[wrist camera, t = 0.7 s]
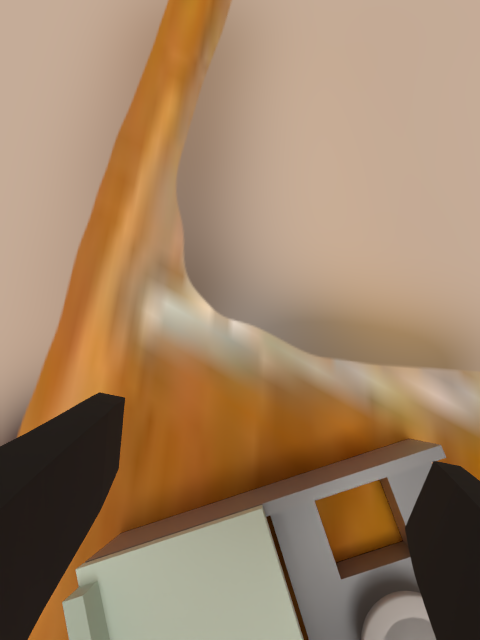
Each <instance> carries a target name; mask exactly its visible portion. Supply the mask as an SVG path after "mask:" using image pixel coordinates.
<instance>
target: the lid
mask: <svg viewBox="0 0 480 640" xmlns="http://www.w3.org/2000/svg"><path fill="white" fill-rule="evenodd" d="M76 575H77V580H78V585H79V588H78V589H76V590H75V591H74V592H73V593H72V594H71V595H70V596H69V597H68V598H67V599H65V600H64V601H63V602H62V604H63V609H64V615H65V620H66V625H67V631H68V636H69V640H304V638H303V635H302V632H301V629H300V625H299V622H298V619H297V616H296V612H295V609H294V606H293V603H292V600H291V596H290V593H289V590H288V587H287V583H286V580H285V577H284V574H283V570H282V567H281V564H280V561H279V557H278V554H277V551H276V548H275V544H274V541H273V538H272V535H271V531H270V528H269V525H268V522H267V518H266V515H265V512H264V509H263V505H260V506H257V507H254V508H251V509H248V510H245V511H242V512H239V513H236V514H232V515H229V516H226V517H223V518H220V519H217V520H214V521H211V522H208V523H205V524H202V525H199V526H196V527H193V528H190V529H187V530H184V531H181V532H178V533H175V534H172V535H169V536H165V537H162V538H159V539H156V540H153V541H150V542H147V543H144V544H141V545H138V546H135V547H132V548H129V549H126V550H123V551H120V552H117V553H114V554H111V555H108V556H105V557H101V558H98V559H95V560H92V561H89V562H86V563H83V564H82V565H81V566H79V567H78V568H77V569H76Z"/></svg>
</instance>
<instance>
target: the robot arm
mask: <svg viewBox="0 0 480 640" xmlns="http://www.w3.org/2000/svg"><path fill="white" fill-rule="evenodd" d="M124 404H125V398H124V397H119V396H114V395H109V394H104V393H98V394H96V395H94V396H92V397H90V398H88V399H86V400H85V401H83V402H81V403H79V404H78V405H76V406H74V407H72V408H71V409H69V410H67V411H66V412H64V413H62V414H60V415H59V416H57V417H55V418H53V419H51V420H50V421H48V422H46V423H44V424H42V425H40V426H39V427H37V428H35V429H33V430H31V431H30V432H28V433H26V434H24V435H22V436H20V437H18V438H16V439H14V440H13V441H11V442H8V443H6V444H4V445H2V446H0V640H28V638H29V636H30V634H31V632H32V630H33V628H34V626H35V624H36V622H37V620H38V619H39V617H40V615H41V613H42V611H43V609H44V608H45V606H46V604H47V602H48V601H49V599H50V597H51V595H52V594H53V592H54V590H55V588H56V587H57V585H58V583H59V582H60V580H61V578H62V576H63V575H64V573H65V571H66V569H67V568H68V566H69V564H70V563H71V561H72V559H73V557H74V556H75V554H76V552H77V550H78V549H79V547H80V545H81V544H82V542H83V540H84V538H85V537H86V535H87V533H88V531H89V530H90V528H91V526H92V524H93V523H94V521H95V519H96V517H97V515H98V514H99V512H100V510H101V508H102V506H103V503H104V501H105V499H106V497H107V494H108V492H109V490H110V488H111V485H112V483H113V480H114V478H115V476H116V473H117V471H118V468H119V458H120V447H121V436H122V425H123V414H124ZM405 532H406V537H407V542H408V547H409V553H410V557H411V562H412V566H413V570H414V575H415V578H416V581H417V584H418V587H419V590H420V593H421V596H422V599H423V602H424V605H425V608H426V611H427V614H428V617H429V620H430V623H431V626H432V629H433V632H434V635H435V638H436V640H480V481H479V480H478V479H476V478H475V477H474V476H473V475H471V474H470V473H469V472H467V471H466V470H465V469H463V468H462V467H461V466H457V465H452V464H447V463H442V462H437V461H433V464H432V466H431V468H430V471H429V473H428V475H427V478H426V480H425V482H424V484H423V487H422V489H421V491H420V494H419V496H418V498H417V501H416V503H415V505H414V508H413V510H412V512H411V515H410V517H409V519H408V522H407V524H406V526H405Z"/></svg>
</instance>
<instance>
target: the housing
mask: <svg viewBox="0 0 480 640" xmlns="http://www.w3.org/2000/svg"><path fill="white" fill-rule="evenodd" d="M444 458H446V456H445V454H444V451H443V449H442V447H441V445H438V444H433V443H428V442H423V441H418V440H413V439H406V440H403V441H400V442H397V443H394V444H391V445H388V446H385V447H382V448H379V449H376V450H373V451H370V452H367V453H364V454H361V455H358V456H355V457H352V458H349V459H346V460H343V461H339V462H336V463H333V464H330V465H327V466H324V467H321V468H318V469H315V470H312V471H309V472H306V473H303V474H300V475H297V476H294V477H291V478H288V479H285V480H282V481H279V482H276V483H273V484H269V485H266V486H263V487H260V488H257V489H254V490H251V491H248V492H245V493H242V494H239V495H236V496H233V497H230V498H227V499H224V500H221V501H218V502H215V503H212V504H209V505H206V506H203V507H199V508H196V509H193V510H190V511H187V512H184V513H181V514H178V515H175V516H172V517H169V518H166V519H163V520H160V521H157V522H154V523H151V524H148V525H145V526H142V527H139V528H136V529H133V530H130V531H126V532H123V533H120V534H119V535H118V536H117V537H116V538H114V539H113V540H112V541H111V542H109V543H108V544H107V545H106V546H104V547H103V548H102V549H101V550H99V551H98V552H97V553H96V554H94V555H93V556H92V557H91V558H89V559H88V560H87V561H86V562H89V561H92V560H95V559H98V558H101V557H105V556H108V555H111V554H114V553H117V552H120V551H123V550H126V549H129V548H132V547H135V546H138V545H141V544H144V543H147V542H150V541H153V540H156V539H159V538H162V537H165V536H169V535H172V534H175V533H178V532H181V531H184V530H187V529H190V528H193V527H196V526H199V525H202V524H205V523H208V522H211V521H214V520H217V519H220V518H223V517H226V516H229V515H232V514H236V513H239V512H242V511H245V510H248V509H251V508H254V507H257V506H260V505H263V509H264V512H265V515H266V517H267V516H271V519H272V522H273V526H274V529H275V532H276V535H277V539H278V542H279V545H280V548H281V551H282V555H283V558H284V561H285V564H286V567H287V571H288V574H289V577H290V580H291V584H292V587H293V590H294V593H295V596H296V600H297V603H298V606H299V609H300V613H301V616H302V619H303V622H304V625H305V629H306V632H307V635H308V638H309V640H436V638H435V635H434V632H433V629H432V626H431V623H430V620H429V617H428V614H427V611H426V608H425V605H424V602H423V599H422V596H421V593H420V590H419V587H418V584H417V581H416V578H415V575H414V570H413V566H412V562H411V557H410V553H409V547H408V542H407V537H406V532H405V526H406V524H407V522H408V519H409V517H410V515H411V512H412V510H413V508H414V505H415V503H416V501H417V498H418V496H419V494H420V491H421V489H422V487H423V484H424V482H425V480H426V478H427V475H428V473H429V471H430V468H431V466H432V463H431V462H433V461H437V460H440V459H444ZM379 479H380V481H381V484H382V487H383V489H384V492H385V495H386V497H387V500H388V502H389V505H390V508H391V510H392V513H393V516H394V518H395V521H396V524H397V526H398V529H399V531H400V534H401V537H402V539H403V541H402V542H399V543H396V544H393V545H389V546H386V547H383V548H380V549H377V550H374V551H371V552H368V553H365V554H362V555H359V556H356V557H353V558H350V559H347V560H344V561H340V562H337V563H335V560H334V557H333V554H332V551H331V548H330V545H329V542H328V539H327V536H326V533H325V530H324V527H323V524H322V521H321V519H320V516H319V513H318V510H317V507H316V504H315V500H319V499H322V498H325V497H328V496H331V495H334V494H337V493H340V492H343V491H346V490H349V489H352V488H355V487H358V486H361V485H364V484H367V483H370V482H373V481H376V480H379ZM86 562H85V563H86Z"/></svg>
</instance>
